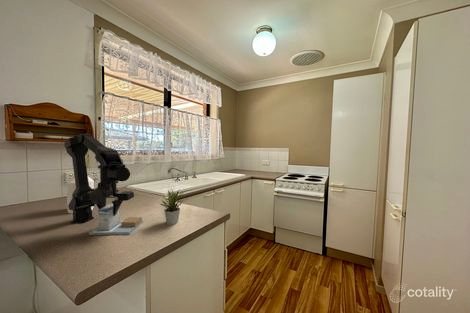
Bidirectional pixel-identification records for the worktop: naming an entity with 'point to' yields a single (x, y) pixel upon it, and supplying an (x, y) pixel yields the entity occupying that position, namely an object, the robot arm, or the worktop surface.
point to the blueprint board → (120, 227)
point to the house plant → (172, 207)
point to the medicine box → (107, 217)
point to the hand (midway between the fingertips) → (109, 215)
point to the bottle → (71, 188)
